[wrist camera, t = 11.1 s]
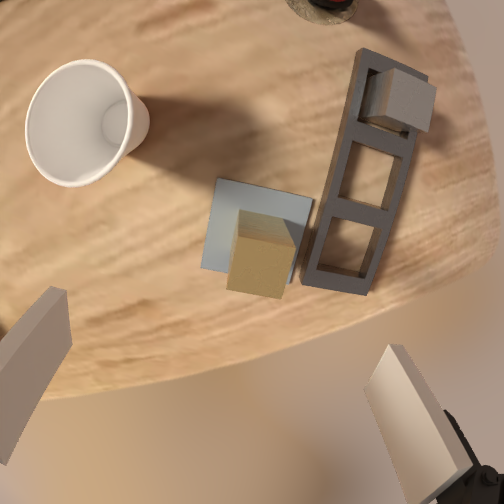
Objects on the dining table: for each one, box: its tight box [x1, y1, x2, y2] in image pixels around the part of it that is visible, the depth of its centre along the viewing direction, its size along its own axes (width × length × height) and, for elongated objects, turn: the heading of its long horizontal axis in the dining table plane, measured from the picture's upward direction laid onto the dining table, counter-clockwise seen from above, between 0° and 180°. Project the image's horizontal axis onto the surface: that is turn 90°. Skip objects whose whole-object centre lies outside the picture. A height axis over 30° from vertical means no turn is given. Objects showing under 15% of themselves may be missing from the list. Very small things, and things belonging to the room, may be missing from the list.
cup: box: [25, 59, 150, 187], centre depth 24 cm, size 10×10×11 cm
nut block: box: [226, 209, 296, 299], centre depth 30 cm, size 5×5×9 cm
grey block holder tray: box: [299, 48, 428, 296], centre depth 31 cm, size 26×8×2 cm, turn 167°
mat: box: [201, 178, 313, 285], centre depth 34 cm, size 10×10×1 cm
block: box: [358, 68, 436, 133], centre depth 26 cm, size 5×5×7 cm
